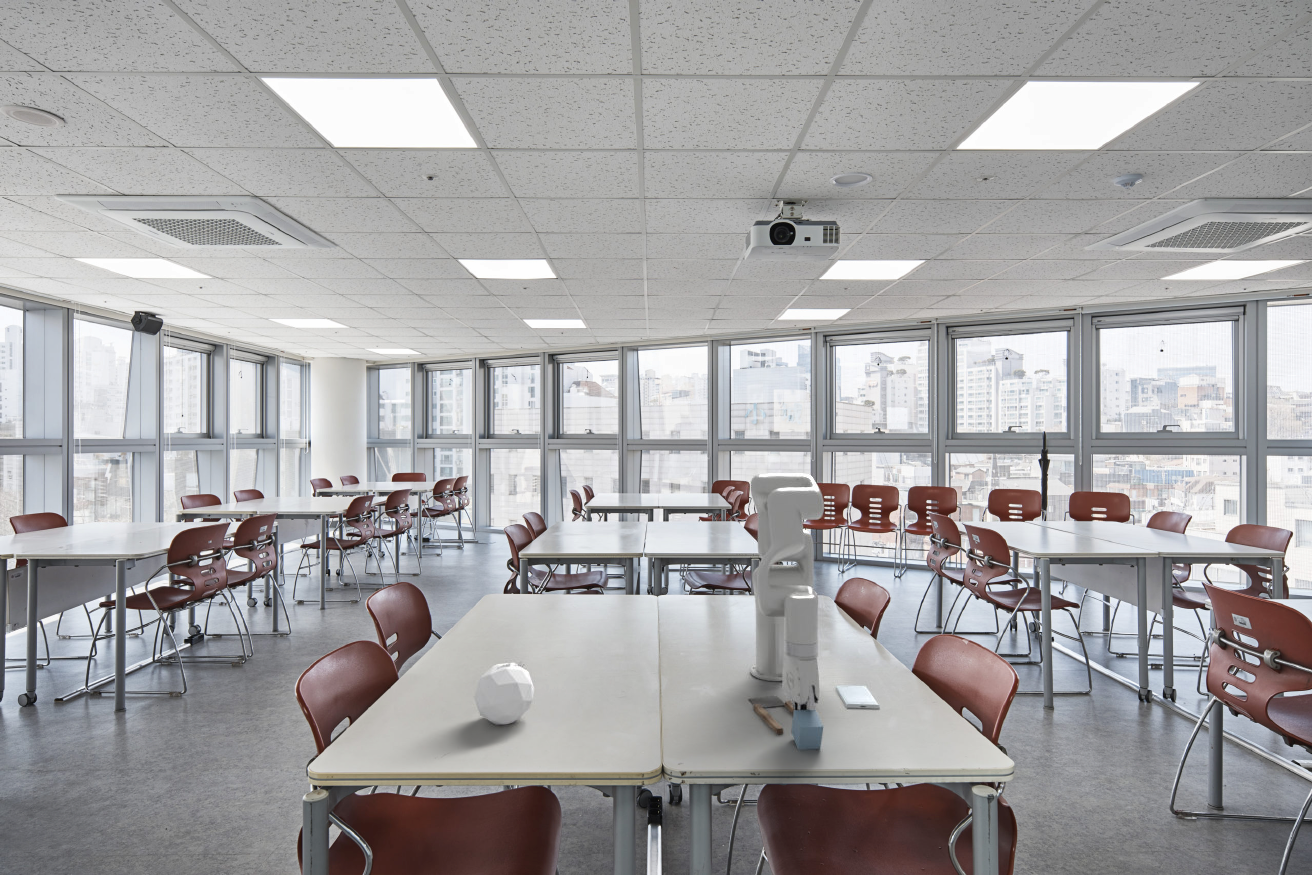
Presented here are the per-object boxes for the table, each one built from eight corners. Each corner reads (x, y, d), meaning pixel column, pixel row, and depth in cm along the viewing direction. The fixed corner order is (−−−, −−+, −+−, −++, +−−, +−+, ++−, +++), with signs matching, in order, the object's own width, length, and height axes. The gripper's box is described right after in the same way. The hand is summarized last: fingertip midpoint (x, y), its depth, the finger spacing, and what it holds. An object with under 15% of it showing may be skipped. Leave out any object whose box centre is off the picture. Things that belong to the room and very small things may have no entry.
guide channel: (744, 700, 160) (744, 695, 160) (780, 696, 163) (780, 691, 163) (777, 733, 141) (777, 728, 141) (816, 729, 143) (816, 724, 143)
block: (791, 731, 138) (793, 710, 136) (812, 730, 139) (815, 709, 137) (798, 749, 134) (800, 727, 132) (820, 748, 134) (823, 726, 132)
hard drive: (835, 685, 168) (846, 703, 156) (866, 685, 167) (879, 704, 155) (835, 691, 168) (846, 709, 156) (866, 691, 167) (879, 710, 155)
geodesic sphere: (522, 676, 161) (494, 640, 155) (558, 689, 152) (531, 652, 146) (483, 727, 152) (452, 691, 145) (519, 744, 143) (488, 706, 136)
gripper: (772, 639, 147) (772, 717, 146) (801, 659, 132) (801, 746, 132) (801, 637, 148) (801, 713, 148) (832, 657, 134) (833, 742, 133)
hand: (801, 728), depth 140 cm, fingers closed
